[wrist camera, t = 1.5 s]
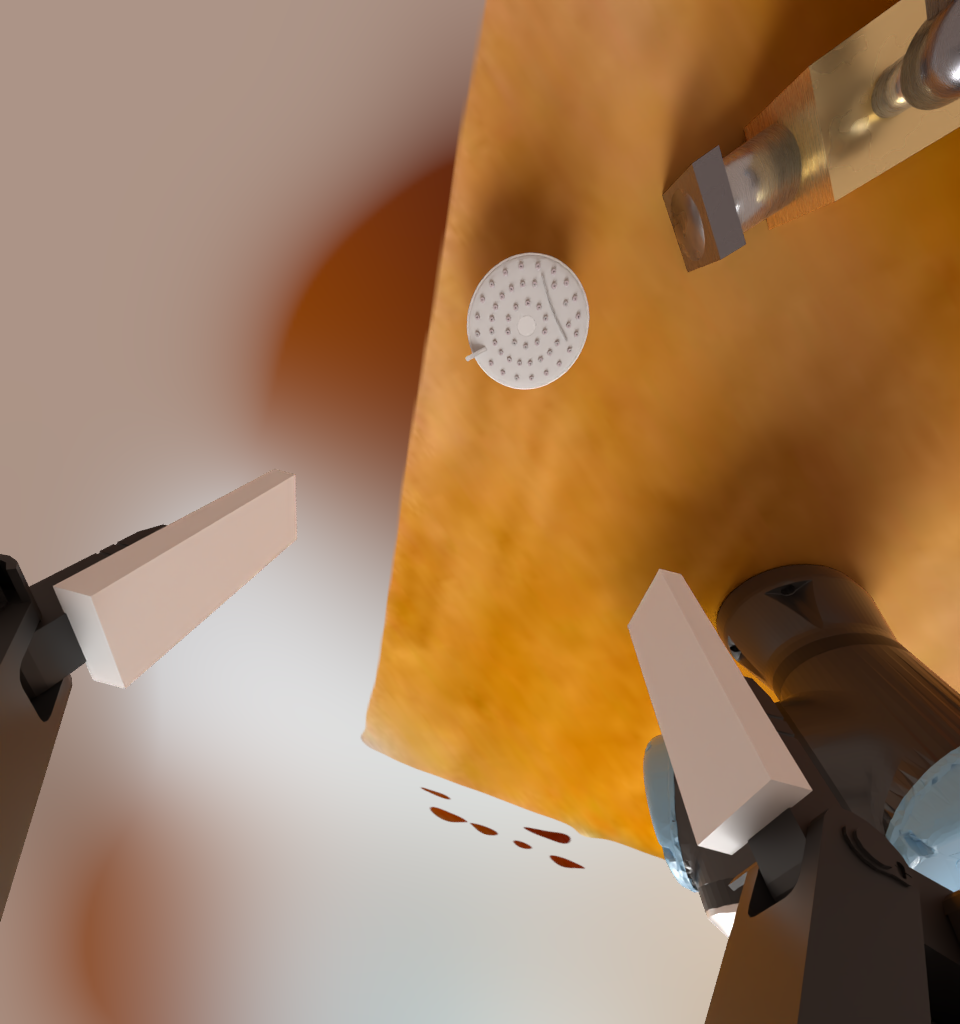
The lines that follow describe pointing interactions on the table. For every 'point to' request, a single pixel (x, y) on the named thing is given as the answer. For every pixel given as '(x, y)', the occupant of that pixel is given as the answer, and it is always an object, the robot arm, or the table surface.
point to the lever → (934, 58)
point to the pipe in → (732, 194)
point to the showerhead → (527, 321)
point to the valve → (854, 112)
